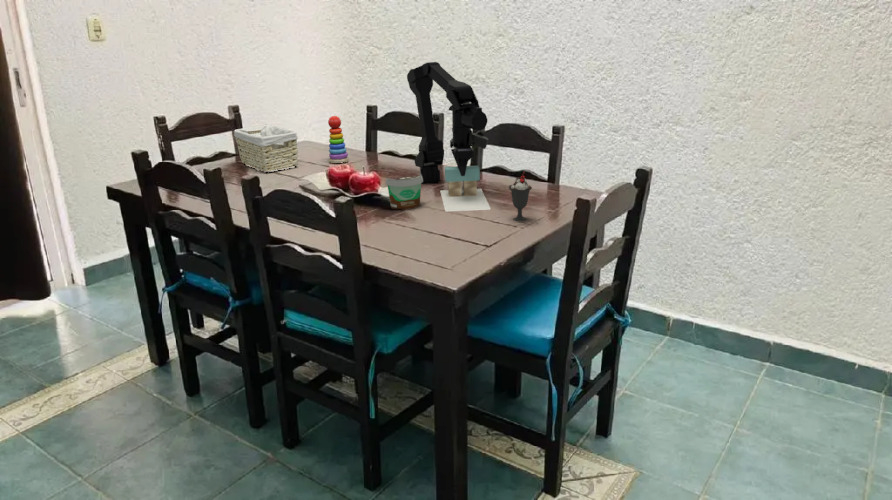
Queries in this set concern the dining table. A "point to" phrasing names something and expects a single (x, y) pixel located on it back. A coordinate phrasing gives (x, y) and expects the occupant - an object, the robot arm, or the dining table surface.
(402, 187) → the food container
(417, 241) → the dining table surface
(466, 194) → the post
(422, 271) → the dining table surface
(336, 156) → the stacking toy
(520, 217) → the sundae
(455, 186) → the post
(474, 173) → the lintel
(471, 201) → the build mat
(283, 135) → the storage basket
